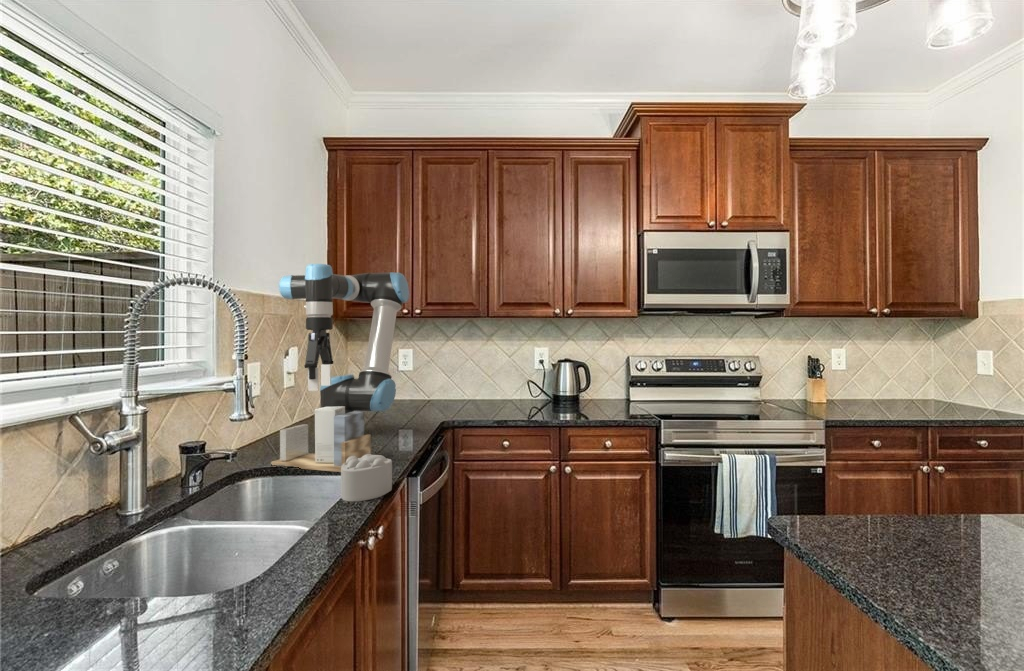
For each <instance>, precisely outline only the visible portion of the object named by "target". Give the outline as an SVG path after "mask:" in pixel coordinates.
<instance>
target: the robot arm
mask: <svg viewBox="0 0 1024 671" xmlns="http://www.w3.org/2000/svg"><path fill="white" fill-rule="evenodd" d="M408 284H409V283H408V281H407V278H406V276H405V275H404V274H403V273H401V272H392V271H391V272H366V273H358V274H348V275H346V274H345V275H342V274H335V273H334V271H333V267H332V266H331V265H330V264H326V263H325V264H324V263H309V264H307V265H306V267H305V272H304V274H303V275H301V274H300V275H299V274H297V275H293V274H292V275H285V276H282V277H281V279H280V280H279V282H278V290H279V294H280V296H281V297H282V298H284V299H286V300H305V305H304V306H303V308H304V309H305V315H306V316H307V317H306V318H305V330H309V331H312V332H309V333H308V335H307V336H308V342H307V347H306V354H305V355H306V357H305V363H304V365H303V366H304V369H307V391H308V392H318V391H319V392H320V399H319V400H320V408H323V407H338V406H345V413H349V412H353V411H359V412H374V413H376V412H384V411H388V410H389V409H390V408H391V406H392V405H393V404H394V401H395V397H396V393H397V390H396V389H397V388H396V382H395V380H394V379H392V377H393V376H392V374H391V373H390V372H389V369H390V360H391V355H392V354H391V353H392V347H393V340H394V335H395V334H394V332H395V326H396V320H397V319H396V318H397V313H398V312H399V311H401V310H402V305H403V304H405V303H407V302H408V301H409V297H410V289H409V285H408ZM333 299H337V300H343V301H347V302H349V301H351V302H359V303H368V304H369V303H370V306H371V307H372V308H373V313H372V320H371V325H370V331H369V338H368V344H367V350H366V356H365V360H364V361H365V363H364V368H363V369H362V370H360V371H359V373H358V377H357V378H355V375H354V374H343V375H338V376H337V375H336V376H331V374H332V373H331V372H332V371H331V370H332V369H331V368H332V367H331V366H332V365H334V362H335V361H334V360H333V353H332V346H331V336H330V335H331V334H330V332H327V331H328V330H329V331H331V330H333V328H334V327H333V326H334V324H333V323H334V321H333V320H334V319H333V317H332V316H333V315H334V310H333V308H334V306H333V304H334V303H333ZM320 359H321V365H320V376H321V377H320V378H319V367H318V365H319V360H320ZM319 379H321V381H319ZM319 382H320V389H319Z"/></svg>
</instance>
